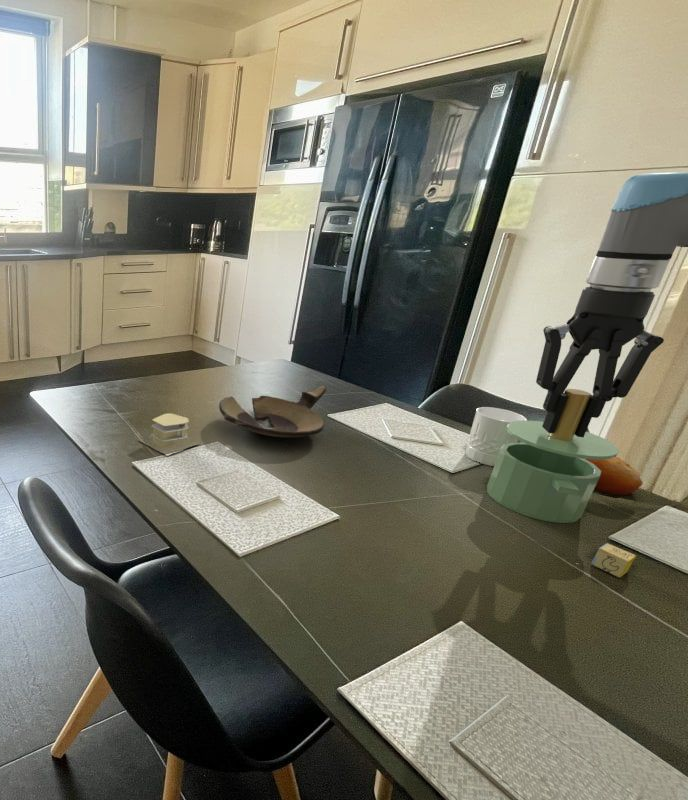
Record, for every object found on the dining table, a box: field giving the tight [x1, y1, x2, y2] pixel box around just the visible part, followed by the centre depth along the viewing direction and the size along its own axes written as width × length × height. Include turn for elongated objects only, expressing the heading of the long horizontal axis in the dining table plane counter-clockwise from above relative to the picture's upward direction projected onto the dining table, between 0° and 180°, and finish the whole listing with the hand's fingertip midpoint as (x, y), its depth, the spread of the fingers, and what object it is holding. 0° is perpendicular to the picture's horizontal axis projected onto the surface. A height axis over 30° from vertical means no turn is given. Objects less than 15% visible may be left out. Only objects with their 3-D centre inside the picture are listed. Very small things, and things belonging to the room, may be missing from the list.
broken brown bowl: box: [218, 385, 328, 438], centre depth 111 cm, size 22×30×8 cm
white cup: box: [465, 406, 528, 467], centre depth 98 cm, size 8×8×10 cm
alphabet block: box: [590, 542, 637, 579], centre depth 69 cm, size 3×3×3 cm
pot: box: [486, 441, 601, 524], centre depth 84 cm, size 13×18×8 cm
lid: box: [506, 388, 620, 460], centre depth 79 cm, size 14×14×9 cm
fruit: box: [585, 456, 644, 499], centre depth 88 cm, size 8×8×8 cm
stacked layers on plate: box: [150, 412, 190, 448], centre depth 104 cm, size 10×9×6 cm
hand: (562, 431), depth 80 cm, fingers closed on lid, 3 cm apart
